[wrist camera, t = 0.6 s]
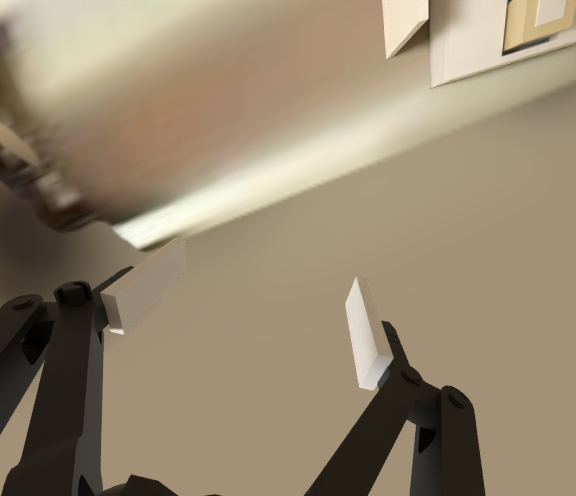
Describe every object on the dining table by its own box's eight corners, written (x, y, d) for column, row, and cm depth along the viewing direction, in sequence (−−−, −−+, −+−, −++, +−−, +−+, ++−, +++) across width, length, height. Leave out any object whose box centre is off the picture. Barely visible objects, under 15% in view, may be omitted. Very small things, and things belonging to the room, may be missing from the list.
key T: (498, 10, 25) (530, -13, 22) (543, -7, 24) (584, -33, 21) (494, 55, 27) (523, 42, 23) (536, 42, 26) (573, 26, 22)
